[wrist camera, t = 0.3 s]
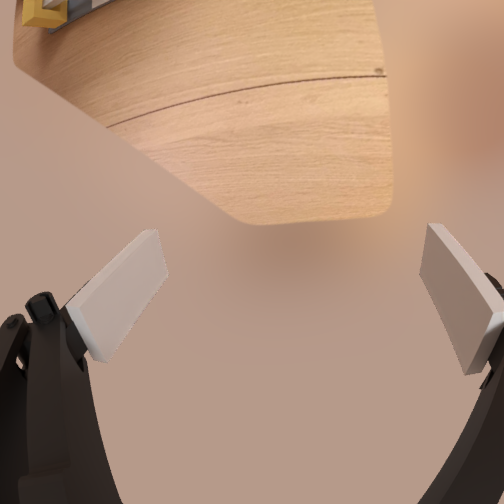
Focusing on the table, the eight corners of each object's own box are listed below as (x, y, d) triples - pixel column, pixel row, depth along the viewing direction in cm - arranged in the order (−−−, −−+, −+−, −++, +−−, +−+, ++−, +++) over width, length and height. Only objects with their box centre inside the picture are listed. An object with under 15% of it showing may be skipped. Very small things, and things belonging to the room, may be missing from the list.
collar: (56, -7, 27) (25, -13, 20) (68, -14, 26) (36, -22, 19) (55, 28, 31) (21, 25, 24) (67, 21, 30) (33, 17, 23)
